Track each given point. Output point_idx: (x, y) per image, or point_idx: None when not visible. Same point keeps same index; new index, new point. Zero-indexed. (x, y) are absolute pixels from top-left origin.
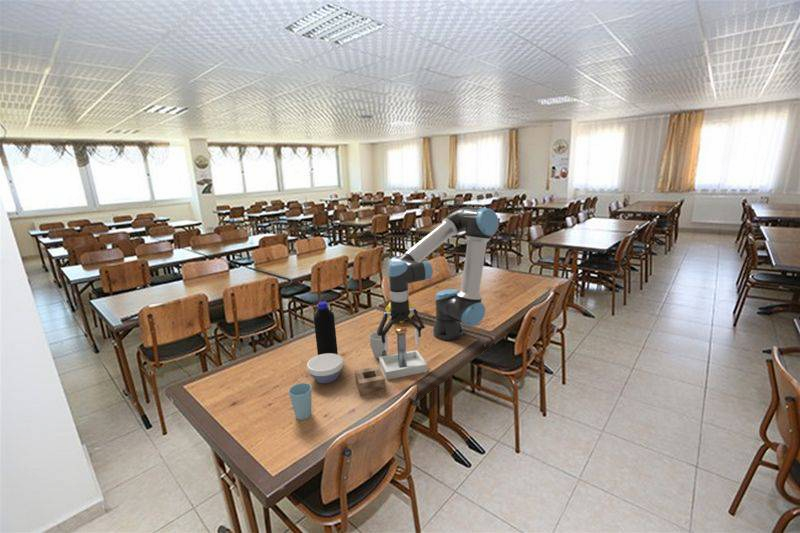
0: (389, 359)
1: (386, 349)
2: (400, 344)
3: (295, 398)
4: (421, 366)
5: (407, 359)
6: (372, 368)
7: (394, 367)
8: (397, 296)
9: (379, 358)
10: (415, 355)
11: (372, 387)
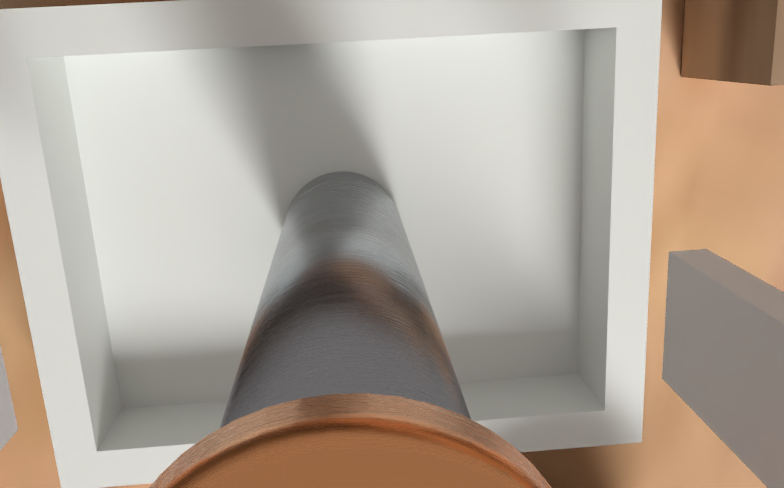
0: (489, 395)
1: (711, 260)
2: (394, 292)
3: None
4: (79, 8)
5: None
6: None
7: (457, 220)
8: None
9: (640, 403)
10: (115, 418)
11: None
